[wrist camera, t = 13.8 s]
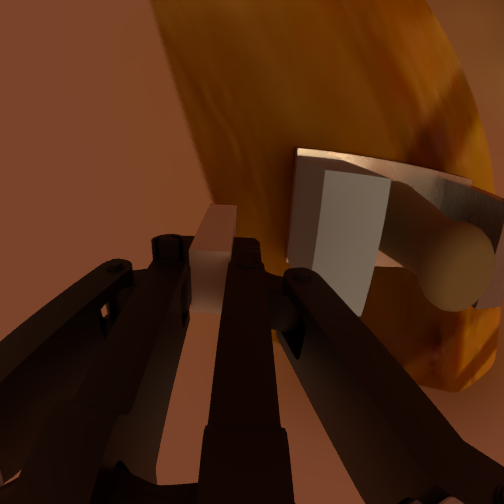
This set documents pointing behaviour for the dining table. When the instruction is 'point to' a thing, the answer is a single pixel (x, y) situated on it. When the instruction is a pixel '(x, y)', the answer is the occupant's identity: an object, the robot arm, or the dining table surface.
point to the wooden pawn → (436, 249)
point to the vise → (441, 196)
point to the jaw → (338, 224)
